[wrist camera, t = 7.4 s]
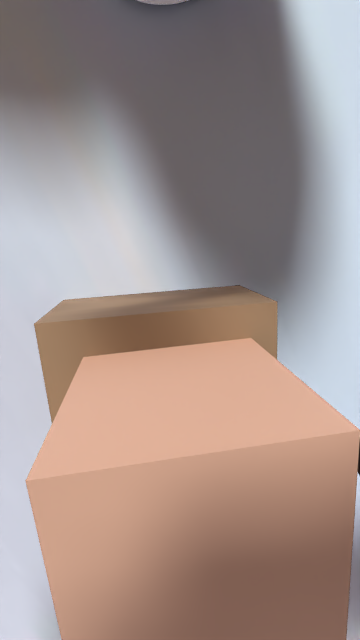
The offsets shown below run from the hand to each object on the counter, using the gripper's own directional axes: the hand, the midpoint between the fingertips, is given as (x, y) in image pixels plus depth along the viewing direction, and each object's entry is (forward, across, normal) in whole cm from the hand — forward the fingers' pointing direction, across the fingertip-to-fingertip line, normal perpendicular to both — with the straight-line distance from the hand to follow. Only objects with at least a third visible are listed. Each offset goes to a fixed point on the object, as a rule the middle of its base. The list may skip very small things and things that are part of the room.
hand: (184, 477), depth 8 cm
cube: (+2, 0, 0) cm, 3 cm away
